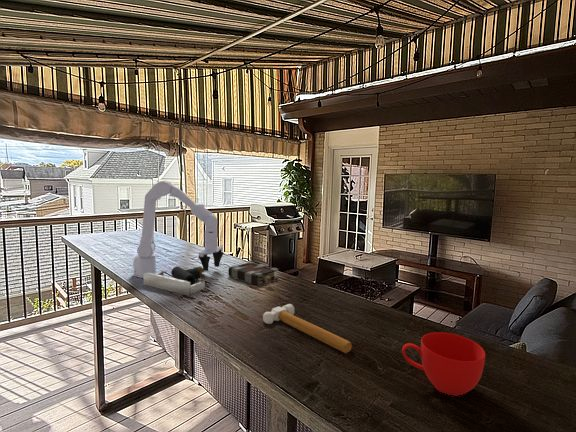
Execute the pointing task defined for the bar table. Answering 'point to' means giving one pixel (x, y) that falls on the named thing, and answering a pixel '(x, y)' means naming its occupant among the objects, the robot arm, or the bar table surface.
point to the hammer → (306, 327)
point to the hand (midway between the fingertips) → (211, 268)
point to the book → (253, 273)
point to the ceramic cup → (449, 362)
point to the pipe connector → (188, 274)
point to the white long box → (172, 283)
